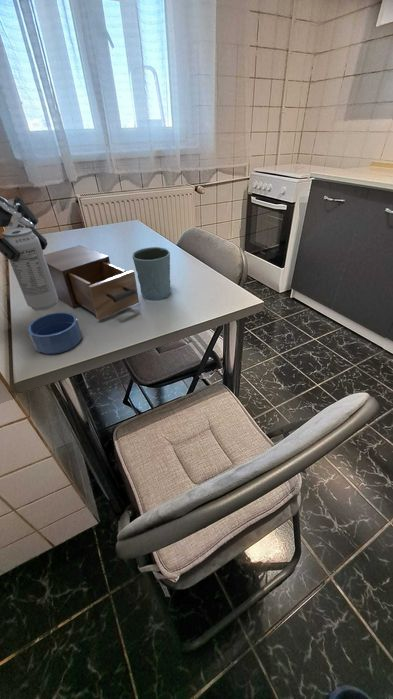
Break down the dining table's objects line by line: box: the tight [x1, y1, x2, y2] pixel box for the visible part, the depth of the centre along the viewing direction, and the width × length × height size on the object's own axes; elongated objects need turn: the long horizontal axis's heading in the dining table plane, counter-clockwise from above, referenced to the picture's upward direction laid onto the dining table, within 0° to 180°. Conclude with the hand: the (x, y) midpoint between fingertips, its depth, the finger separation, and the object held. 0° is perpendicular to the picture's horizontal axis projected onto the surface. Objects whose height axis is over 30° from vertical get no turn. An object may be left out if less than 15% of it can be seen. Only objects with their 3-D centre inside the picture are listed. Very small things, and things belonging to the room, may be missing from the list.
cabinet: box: [44, 244, 111, 309], centre depth 86 cm, size 16×14×11 cm
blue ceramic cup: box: [131, 246, 172, 301], centre depth 83 cm, size 10×10×12 cm
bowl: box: [27, 311, 83, 355], centre depth 66 cm, size 10×10×5 cm
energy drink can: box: [2, 228, 59, 312], centre depth 58 cm, size 6×6×15 cm
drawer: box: [66, 261, 140, 321], centre depth 77 cm, size 19×13×9 cm
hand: (31, 252), depth 55 cm, fingers closed on energy drink can, 6 cm apart
